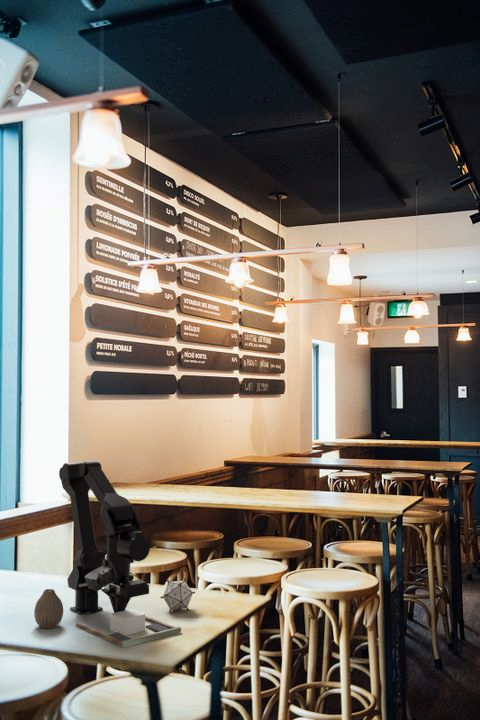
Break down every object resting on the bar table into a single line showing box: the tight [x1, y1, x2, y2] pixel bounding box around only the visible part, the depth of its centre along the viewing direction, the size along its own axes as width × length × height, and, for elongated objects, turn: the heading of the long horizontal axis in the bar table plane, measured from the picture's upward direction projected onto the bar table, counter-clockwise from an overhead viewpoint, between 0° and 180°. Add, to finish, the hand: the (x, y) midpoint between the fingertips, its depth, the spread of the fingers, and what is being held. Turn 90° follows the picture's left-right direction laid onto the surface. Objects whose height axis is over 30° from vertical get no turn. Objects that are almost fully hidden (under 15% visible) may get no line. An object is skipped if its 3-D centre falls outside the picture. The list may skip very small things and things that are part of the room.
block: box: [109, 609, 146, 636], centre depth 185 cm, size 6×6×4 cm
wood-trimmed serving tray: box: [75, 615, 182, 648], centre depth 185 cm, size 21×16×1 cm
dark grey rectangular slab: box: [108, 623, 170, 641], centre depth 181 cm, size 6×14×1 cm, turn 132°
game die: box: [159, 577, 196, 613], centre depth 202 cm, size 9×8×10 cm
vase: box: [33, 588, 64, 630], centre depth 188 cm, size 7×7×9 cm
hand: (118, 618), depth 188 cm, fingers closed
